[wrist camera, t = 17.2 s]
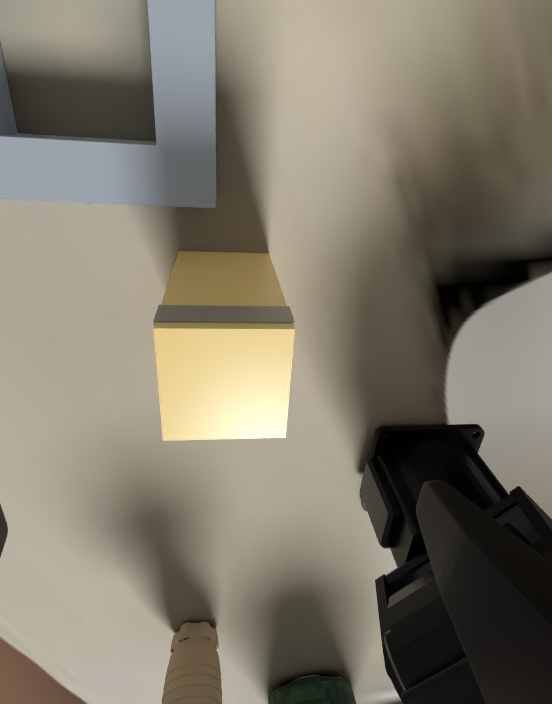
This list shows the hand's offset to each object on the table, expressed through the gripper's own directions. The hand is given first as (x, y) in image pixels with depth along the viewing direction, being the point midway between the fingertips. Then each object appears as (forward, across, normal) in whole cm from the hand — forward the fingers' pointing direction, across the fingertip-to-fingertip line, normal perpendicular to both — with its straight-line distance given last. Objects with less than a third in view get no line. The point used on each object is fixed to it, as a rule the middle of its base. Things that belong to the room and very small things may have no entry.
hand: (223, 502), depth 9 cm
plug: (+12, 0, 0) cm, 13 cm away
